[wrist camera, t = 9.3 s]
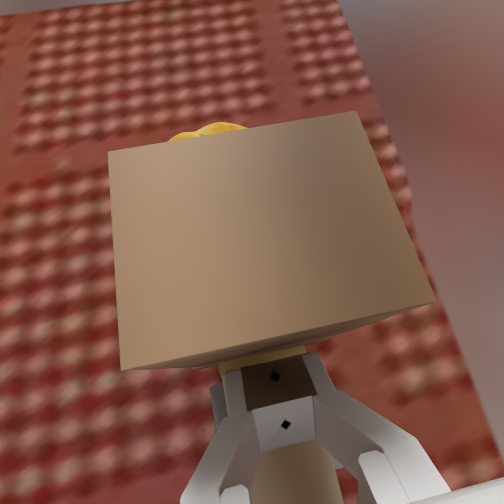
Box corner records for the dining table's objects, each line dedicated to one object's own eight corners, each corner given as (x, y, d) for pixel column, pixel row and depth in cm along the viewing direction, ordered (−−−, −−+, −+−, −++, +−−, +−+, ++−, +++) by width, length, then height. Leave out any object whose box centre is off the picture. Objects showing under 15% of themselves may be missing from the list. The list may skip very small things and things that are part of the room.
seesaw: (253, 611, 16) (256, 873, 8) (202, 289, 22) (173, 244, 14) (359, 580, 17) (469, 797, 8) (281, 273, 23) (299, 220, 14)
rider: (203, 368, 16) (79, 379, 4) (192, 295, 18) (75, 156, 6) (315, 343, 17) (471, 292, 5) (296, 274, 18) (383, 106, 6)
